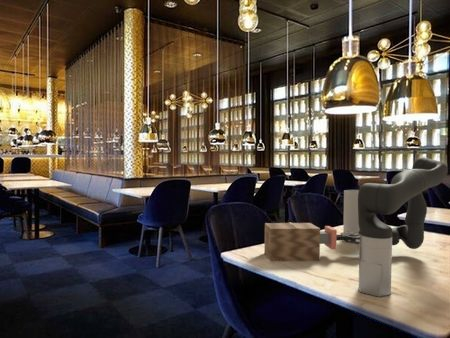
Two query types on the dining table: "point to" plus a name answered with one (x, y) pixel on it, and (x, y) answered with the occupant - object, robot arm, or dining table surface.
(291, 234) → the block
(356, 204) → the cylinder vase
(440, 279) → the dining table surface
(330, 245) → the salmon square plate
